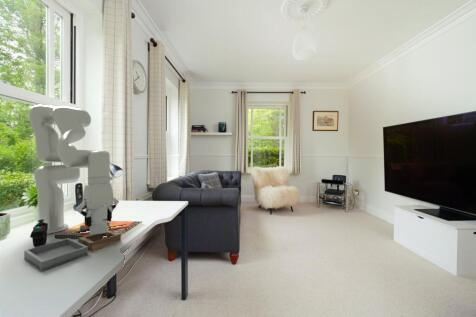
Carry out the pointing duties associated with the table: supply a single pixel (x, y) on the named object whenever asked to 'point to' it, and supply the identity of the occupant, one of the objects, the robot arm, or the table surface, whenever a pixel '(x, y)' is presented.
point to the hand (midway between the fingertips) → (98, 223)
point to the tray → (55, 253)
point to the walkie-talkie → (85, 228)
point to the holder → (100, 240)
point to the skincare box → (99, 220)
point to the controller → (39, 233)
